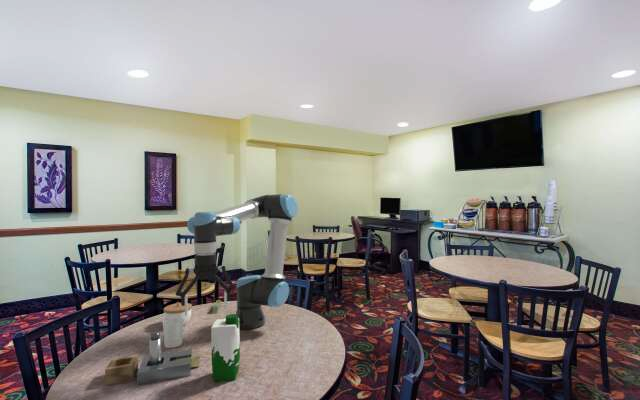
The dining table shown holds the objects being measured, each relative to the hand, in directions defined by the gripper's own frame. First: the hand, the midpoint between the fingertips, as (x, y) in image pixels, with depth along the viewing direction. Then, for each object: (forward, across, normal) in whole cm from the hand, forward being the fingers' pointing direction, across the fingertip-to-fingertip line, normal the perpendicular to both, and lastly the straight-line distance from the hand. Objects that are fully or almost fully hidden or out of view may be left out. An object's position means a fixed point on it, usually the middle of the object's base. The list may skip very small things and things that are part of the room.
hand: (206, 311), depth 116 cm
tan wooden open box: (+19, +27, -3) cm, 33 cm away
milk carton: (+19, -6, +10) cm, 23 cm away
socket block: (+19, +14, 0) cm, 24 cm away
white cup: (+19, +13, -23) cm, 33 cm away
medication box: (+19, -6, -62) cm, 65 cm away
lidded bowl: (+19, +13, -46) cm, 52 cm away
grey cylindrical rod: (+19, +17, 0) cm, 26 cm away
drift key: (+19, +7, 0) cm, 20 cm away
